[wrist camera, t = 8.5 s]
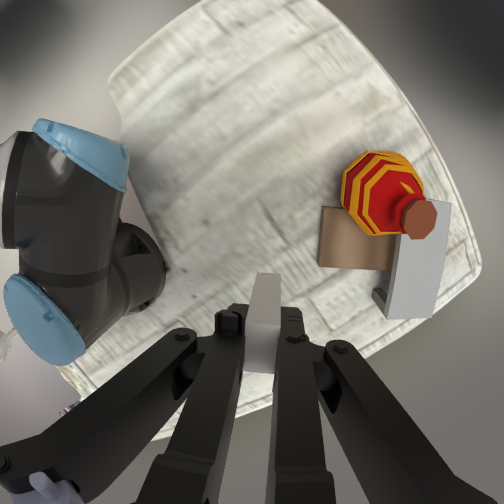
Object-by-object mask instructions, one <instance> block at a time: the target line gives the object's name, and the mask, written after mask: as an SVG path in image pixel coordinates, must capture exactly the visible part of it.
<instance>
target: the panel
mask: <svg viewBox="0 0 504 504" xmlns="http://www.w3.org/2000/svg"><path fill="white" fill-rule="evenodd" d="M396 236H397V234H385V235H367V234H366V233H365V232H364V231H363V230H362V229H361V228H360V227H359V226H358V224H357V223H356V222H355V221H354V219H353V218H352V217H351V216H350V215H349V213H348V212H347V211H346V210H345V208H337V207H326V206H322V210H321V223H320V234H319V245H318V255H317V263H318V265H319V267H331V268H348V269H364V270H382V271H392V266H393V260H394V252H395V245H396Z"/></svg>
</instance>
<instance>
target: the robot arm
mask: <svg viewBox="0 0 504 504" xmlns="http://www.w3.org/2000/svg"><path fill="white" fill-rule="evenodd" d="M32 130H33V132H26V131H16V132H15V133H14V134H13V135H12V136H11V137H9V138H8V139H7V140H6V141H5V142H4V143H2V144H0V247H1V248H3V249H19V273H18V274H13V275H11V277H10V278H9V279H8V280H7V282H6V284H5V286H4V301H5V305H6V309H7V312H8V314H9V317H10V319H11V321H12V323H13V325H14V327H15V329H16V331H17V332H18V334H19V335H20V336H21V338H22V339H23V341H24V342H25V343H26V344H27V345H28V346H29V348H30V349H31V350H32V351H33V352H34V353H35V354H37V355H38V356H39V357H41V358H42V359H43V360H45V361H46V362H48V363H50V364H53V365H56V366H63V365H68V364H70V363H71V362H73V361H74V360H76V359H77V358H78V357H80V356H82V355H84V353H85V352H86V350H87V349H88V348H89V347H90V346H91V345H92V344H93V343H94V342H95V341H96V340H97V339H98V338H99V337H100V336H102V335H103V334H104V333H105V332H106V331H107V330H108V329H109V328H110V327H111V326H112V325H113V324H114V323H116V322H117V321H118V320H119V319H120V318H121V317H122V316H126V315H130V314H134V313H138V312H141V311H143V310H145V309H147V308H148V307H149V306H151V305H152V304H153V303H154V302H155V301H156V300H157V299H158V297H159V296H160V294H161V292H162V290H163V287H164V284H165V264H164V260H163V257H162V254H161V252H160V250H159V248H158V246H157V245H156V243H155V241H154V240H153V239H152V238H151V237H150V236H149V235H148V234H147V233H146V232H145V231H144V230H142V229H141V228H139V227H137V226H135V225H132V224H129V223H118V218H119V214H120V209H121V204H122V200H123V196H124V193H126V187H125V186H126V180H127V175H128V169H129V165H130V154H129V152H128V150H127V148H126V147H125V146H124V145H122V144H120V143H118V142H116V141H113V140H110V139H108V138H105V137H102V136H99V135H97V134H94V133H91V132H88V131H84V130H81V129H78V128H75V127H72V126H68V125H64V124H61V123H57V122H53V121H50V120H47V119H42V118H41V119H38V120H37V121H36V123H35V125H33V128H32ZM243 371H247V372H258V373H270V374H275V375H274V382H273V389H272V392H273V403H272V420H271V435H270V450H269V463H268V476H267V488H266V499H265V504H336V497H335V487H334V480H333V475H332V473H331V472H329V471H327V469H326V464H325V453H324V444H323V435H322V427H321V418H320V410H319V403H318V400H319V402H320V404H321V406H322V408H323V410H324V412H325V414H326V416H327V418H328V420H329V422H330V424H331V426H332V428H333V430H334V432H335V434H336V436H337V439H338V440H339V443H340V445H341V446H342V449H343V451H344V453H345V455H346V457H347V459H348V461H349V463H350V465H351V467H352V469H353V471H354V473H355V475H356V477H357V479H358V481H359V483H360V485H361V487H362V489H363V491H364V493H365V495H366V497H367V499H368V501H369V503H370V504H498V503H497V502H496V501H495V500H494V499H493V498H491V497H489V496H487V495H486V494H484V493H482V492H481V491H479V490H477V489H476V488H474V487H472V486H471V485H469V484H468V483H466V482H464V481H463V480H461V479H460V478H458V477H457V476H455V475H454V474H453V472H452V471H451V470H450V468H449V467H448V466H447V464H446V463H445V462H444V460H443V459H442V458H441V456H440V455H439V454H438V452H437V451H436V450H435V448H434V447H433V446H432V444H431V443H430V442H429V440H428V439H427V438H426V437H425V435H424V434H423V433H422V431H421V430H420V429H419V427H418V426H417V425H416V424H415V423H414V421H413V420H412V418H411V417H410V416H409V415H408V413H407V412H406V411H405V410H404V408H403V407H402V406H401V404H400V403H399V402H398V401H397V399H396V398H395V397H394V396H393V394H392V393H391V392H390V391H389V389H388V388H387V387H386V386H385V384H384V383H383V382H382V381H381V380H380V378H379V377H378V375H377V374H376V373H375V372H374V371H373V369H372V368H371V367H370V366H369V364H368V363H367V362H366V361H365V359H364V358H363V357H362V356H361V354H360V353H359V352H358V351H357V349H356V348H355V347H354V346H353V345H352V344H351V343H349V342H347V341H344V340H332V341H329V342H328V343H326V346H325V347H324V346H319V345H316V344H313V343H311V342H310V341H309V337H308V335H306V334H305V330H304V323H303V318H302V312H301V311H300V310H299V309H298V308H296V307H281V291H280V274H269V273H257V275H256V279H255V283H254V288H253V292H252V296H251V301H250V305H247V304H236V303H233V304H232V305H230V306H229V307H228V309H226V310H221V311H219V312H217V313H216V314H215V332H214V334H213V335H211V336H205V337H197V333H196V332H195V331H194V330H192V329H189V328H176V329H173V330H171V331H169V332H168V333H167V334H166V335H165V336H163V337H162V338H161V339H160V340H158V341H157V342H156V343H155V344H153V345H152V346H151V347H150V348H148V349H147V350H146V351H145V352H143V353H142V354H141V355H140V356H138V357H137V358H136V359H135V360H133V361H132V362H131V363H130V364H128V365H127V366H126V367H125V368H123V369H122V370H121V371H120V372H118V373H117V374H116V375H115V376H113V377H112V378H111V379H110V380H108V381H107V382H106V383H105V384H103V385H102V386H101V387H100V388H98V389H97V390H96V391H95V392H93V393H92V394H91V395H89V396H88V397H87V398H86V399H84V400H83V401H82V402H81V403H79V404H78V405H77V406H76V407H74V408H73V409H72V410H70V411H69V412H68V413H67V414H65V415H64V416H63V417H61V418H60V419H59V420H58V421H56V422H55V423H54V424H53V425H51V426H50V427H49V428H47V429H46V430H45V431H44V432H42V433H41V434H39V435H36V436H33V437H30V438H27V439H24V440H21V441H18V442H14V443H11V444H7V445H4V446H1V447H0V484H1V485H2V486H3V487H4V488H5V489H6V490H7V491H8V492H9V494H10V496H11V499H12V501H13V504H87V503H89V502H90V501H92V500H93V499H95V498H96V497H98V496H99V495H100V494H101V493H102V492H104V491H105V489H107V488H108V487H109V486H110V485H111V484H112V483H113V482H114V480H115V479H116V478H117V477H118V476H119V475H120V474H121V473H122V472H123V471H124V470H125V469H126V467H127V466H128V465H129V464H130V463H131V462H132V461H133V460H134V459H135V458H136V456H137V455H138V454H139V453H140V452H141V451H142V450H143V449H144V447H145V446H146V445H147V444H148V443H149V442H150V441H151V440H152V438H153V437H154V436H155V435H156V434H157V433H158V432H159V430H160V429H161V428H162V427H163V426H164V425H165V423H166V422H167V421H168V420H169V419H170V418H171V416H172V415H173V414H174V413H175V412H176V410H177V409H178V408H179V407H180V406H181V404H182V403H183V402H184V401H185V400H186V398H187V400H186V402H185V405H184V407H183V410H182V412H181V415H180V417H179V419H178V422H177V424H176V427H175V429H174V432H173V434H172V437H171V439H170V442H169V444H168V447H167V449H166V451H165V453H164V454H158V455H157V456H156V457H155V459H154V461H153V463H152V465H151V468H150V470H149V473H148V474H147V477H146V479H145V481H144V484H143V486H142V489H141V491H140V493H139V496H138V498H137V500H136V502H134V503H131V504H218V497H219V492H220V487H221V483H222V477H223V473H224V468H225V463H226V458H227V453H228V448H229V443H230V439H231V433H232V428H233V423H234V418H235V413H236V408H237V403H238V398H239V393H240V387H241V382H242V374H243Z"/></svg>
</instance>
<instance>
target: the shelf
mask: <svg viewBox="0 0 504 504" xmlns="http://www.w3.org/2000/svg"><path fill="white" fill-rule="evenodd" d="M425 199H426V198H425ZM426 201H431V202H432V203H433V205H434V207H435V209H436V211H437V218H436V223H435V228H434V229H433V230H432V231H431V232H430V233H429V234H428V235H427V236H426V237H425V238H424V239H417V240H411V239H410V237H409V236H408V234H402V233H398V234H397V236H396V245H395V252H394V260H393V266H392V273H391V279H390V285H389V290H388V295H387V294H386V293H385V292H384V291H383V290H382V289H376V288H373V292H372V299H373V300H374V302H375V303H376V304H377V306H378V307H379V309H380V310H381V312H382V313H383V315H384V316H385V317H386V319H387V320H389V319H415V318H431V317H432V314H433V310H434V307H435V303H436V299H437V295H438V290H439V286H440V281H441V276H442V271H443V266H444V261H445V255H446V248H447V242H448V234H449V226H450V216H451V204H452V203H449V202H443V201H438V200H432V199H426Z"/></svg>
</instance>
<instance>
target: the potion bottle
mask: <svg viewBox="0 0 504 504" xmlns="http://www.w3.org/2000/svg"><path fill="white" fill-rule="evenodd" d="M369 152H372V153H369ZM374 153H377V154H374ZM423 193H424V189H423V183H422V181H421V180H420V178H419V176H418V174H417V173H416V171H415V170H414V168H413V167H412V165H411V164H410V162H409V161H408V160H407V159H406V158H405V157H404V156H402V155H401V154H398V153H395V152H392V151H366V152H364V153H363V154H361V155H360V156H359V157H357V158H356V159H355V160H354V161H353V162H352V163H351V164H350V165H349V166H348V167H347V168H346V169H345V170H344V171H343V176H342V187H341V197H340V201H341V204H342V206H343V207H344V208H345V210H346V211H347V212H348V213H349V215H350V216H351V217H352V218H353V219H354V221H355V222H356V223H357V224H358V226H359V227H360V228H361V229H362V230H363V231H364V232H365V233H366V234H367V235H385V234H398V233H402V234H408V236H409V237H410V239H411V240H417V239H424V238H425V237H426V236H427V235H428V234H429V233H430V232H431V231H432V230H433V229H434V228H435V223H436V218H437V211H436V209H435V207H434V205H433V203H432V202H431V201H426V199H425V197H424V196H423Z"/></svg>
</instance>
